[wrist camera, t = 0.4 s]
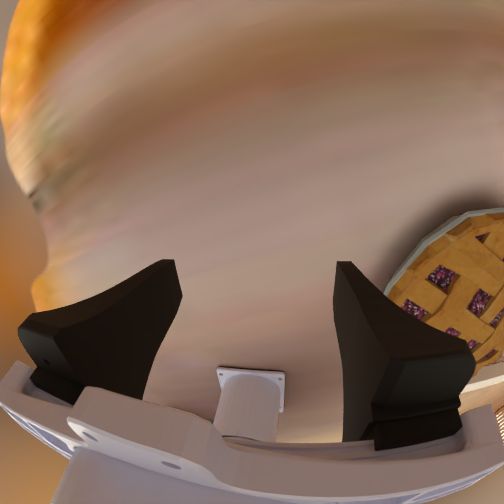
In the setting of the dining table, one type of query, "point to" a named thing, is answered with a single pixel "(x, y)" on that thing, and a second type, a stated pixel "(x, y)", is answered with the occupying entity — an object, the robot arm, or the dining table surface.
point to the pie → (458, 282)
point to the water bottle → (500, 421)
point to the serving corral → (486, 377)
